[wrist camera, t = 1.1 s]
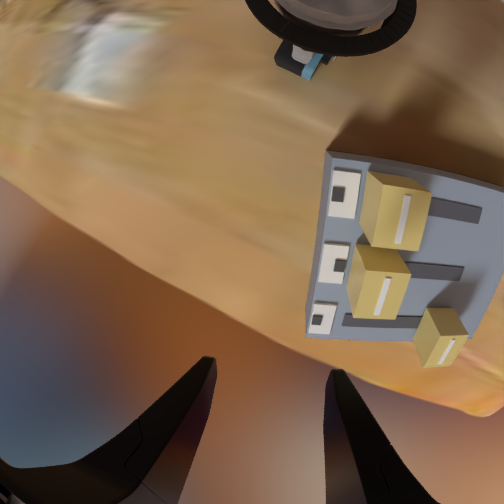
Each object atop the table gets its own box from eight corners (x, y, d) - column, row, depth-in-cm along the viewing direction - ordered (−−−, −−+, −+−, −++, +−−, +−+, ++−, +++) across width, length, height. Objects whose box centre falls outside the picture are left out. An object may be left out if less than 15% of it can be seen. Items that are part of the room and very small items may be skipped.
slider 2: (395, 247, 15) (411, 274, 12) (383, 289, 16) (395, 320, 13) (355, 243, 15) (366, 271, 12) (346, 287, 16) (353, 318, 14)
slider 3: (453, 308, 16) (469, 335, 13) (438, 338, 17) (451, 366, 15) (426, 307, 16) (440, 337, 14) (412, 338, 17) (423, 368, 15)
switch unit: (501, 186, 14) (528, 201, 11) (458, 316, 20) (472, 341, 17) (325, 150, 16) (332, 158, 13) (305, 309, 21) (305, 340, 18)
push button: (300, -20, 11) (300, -120, 2) (380, 19, 11) (455, -49, 3) (251, 60, 14) (198, 0, 5) (334, 101, 14) (388, 85, 6)
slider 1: (409, 177, 13) (433, 193, 10) (399, 227, 14) (418, 252, 12) (367, 170, 13) (383, 184, 10) (359, 223, 14) (371, 247, 12)
